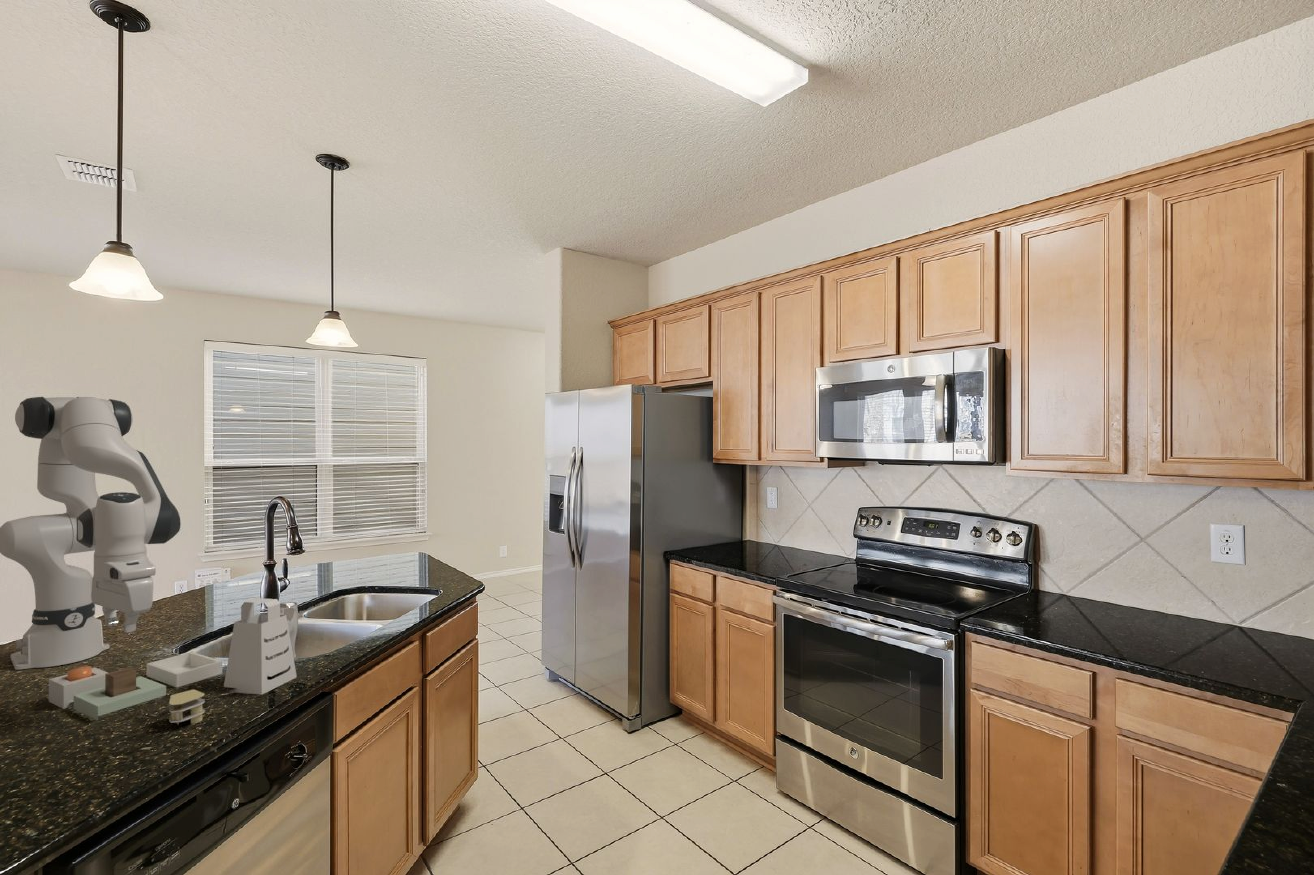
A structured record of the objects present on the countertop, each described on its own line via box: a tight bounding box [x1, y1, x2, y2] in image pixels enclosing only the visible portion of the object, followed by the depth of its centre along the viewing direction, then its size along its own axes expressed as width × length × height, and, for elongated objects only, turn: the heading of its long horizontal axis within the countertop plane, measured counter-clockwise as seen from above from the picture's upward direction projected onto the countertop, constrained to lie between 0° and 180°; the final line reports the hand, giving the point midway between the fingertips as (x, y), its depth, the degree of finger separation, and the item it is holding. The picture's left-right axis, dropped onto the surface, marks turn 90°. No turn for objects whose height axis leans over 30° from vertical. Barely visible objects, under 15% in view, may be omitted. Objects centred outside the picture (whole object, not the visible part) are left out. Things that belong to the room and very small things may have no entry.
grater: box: [223, 597, 298, 696], centre depth 146 cm, size 10×10×20 cm
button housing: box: [48, 667, 109, 710], centre depth 138 cm, size 8×8×5 cm
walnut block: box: [105, 667, 137, 698], centre depth 135 cm, size 4×4×6 cm
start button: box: [67, 665, 93, 682], centre depth 138 cm, size 4×4×3 cm
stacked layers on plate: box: [168, 689, 206, 726], centre depth 126 cm, size 10×9×6 cm
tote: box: [146, 651, 223, 688], centre depth 149 cm, size 15×10×4 cm, turn 62°
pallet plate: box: [73, 675, 167, 722], centre depth 135 cm, size 12×12×3 cm
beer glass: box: [266, 601, 299, 660], centre depth 160 cm, size 7×7×15 cm
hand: (120, 628), depth 135 cm, fingers open, 7 cm apart
